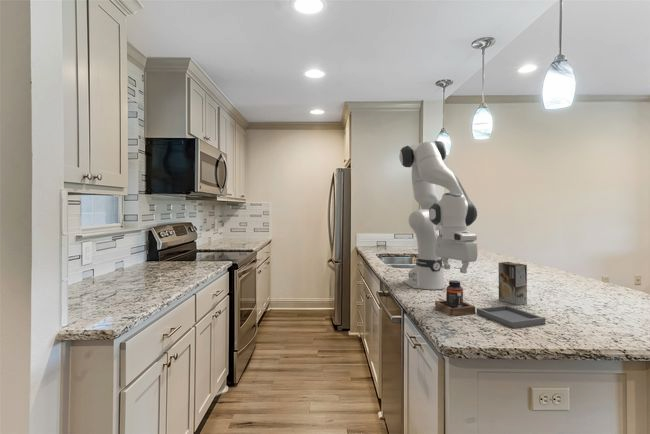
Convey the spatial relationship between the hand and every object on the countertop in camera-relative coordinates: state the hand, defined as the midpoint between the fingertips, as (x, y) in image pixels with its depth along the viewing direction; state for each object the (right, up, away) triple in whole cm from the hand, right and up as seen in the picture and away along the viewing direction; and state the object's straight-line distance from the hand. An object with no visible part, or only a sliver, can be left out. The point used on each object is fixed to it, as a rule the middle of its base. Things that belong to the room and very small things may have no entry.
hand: (455, 271), depth 127 cm
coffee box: (+29, -15, +12) cm, 35 cm away
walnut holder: (0, -15, +1) cm, 15 cm away
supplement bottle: (0, -16, +1) cm, 16 cm away
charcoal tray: (+16, -15, -9) cm, 24 cm away
